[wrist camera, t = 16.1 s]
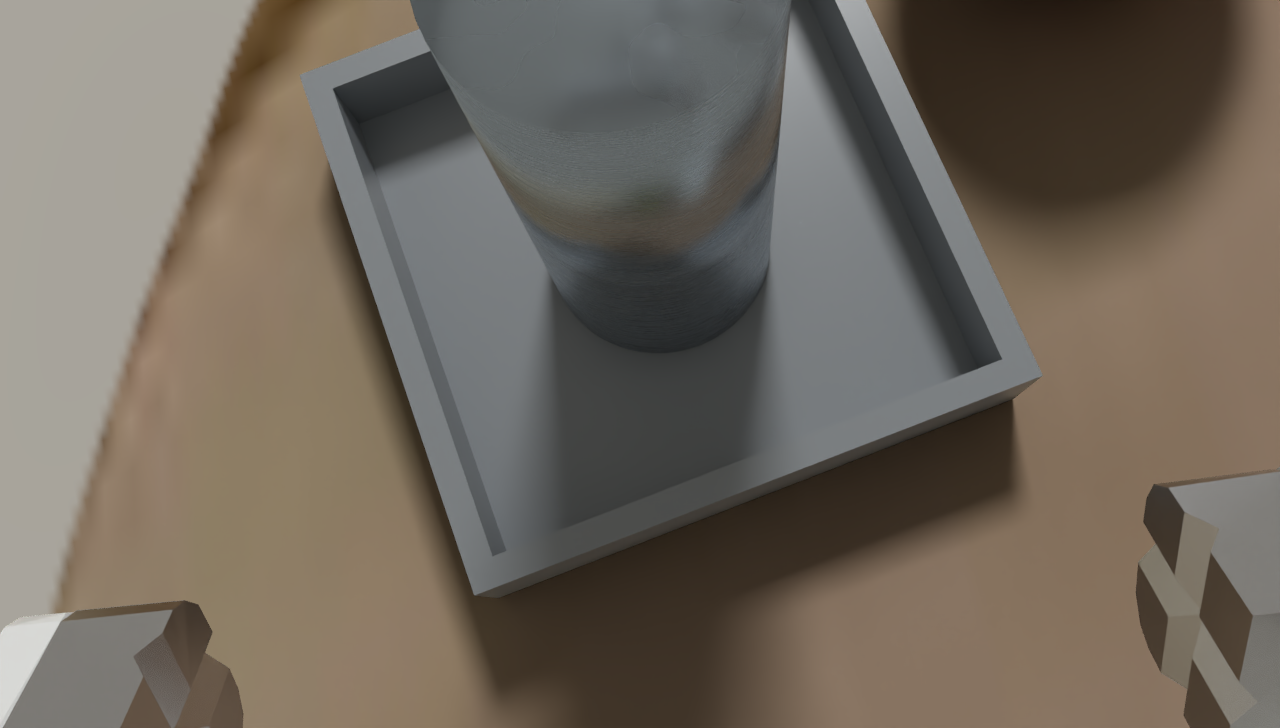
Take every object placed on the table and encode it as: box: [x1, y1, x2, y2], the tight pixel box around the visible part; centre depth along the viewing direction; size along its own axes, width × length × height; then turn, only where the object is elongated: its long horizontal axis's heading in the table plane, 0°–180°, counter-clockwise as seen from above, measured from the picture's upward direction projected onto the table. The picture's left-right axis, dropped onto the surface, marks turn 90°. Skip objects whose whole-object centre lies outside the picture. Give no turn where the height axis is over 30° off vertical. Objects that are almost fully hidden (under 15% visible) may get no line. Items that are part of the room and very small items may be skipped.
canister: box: [410, 0, 791, 353], centre depth 21 cm, size 5×5×12 cm
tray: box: [300, 0, 1043, 598], centre depth 26 cm, size 12×12×2 cm
